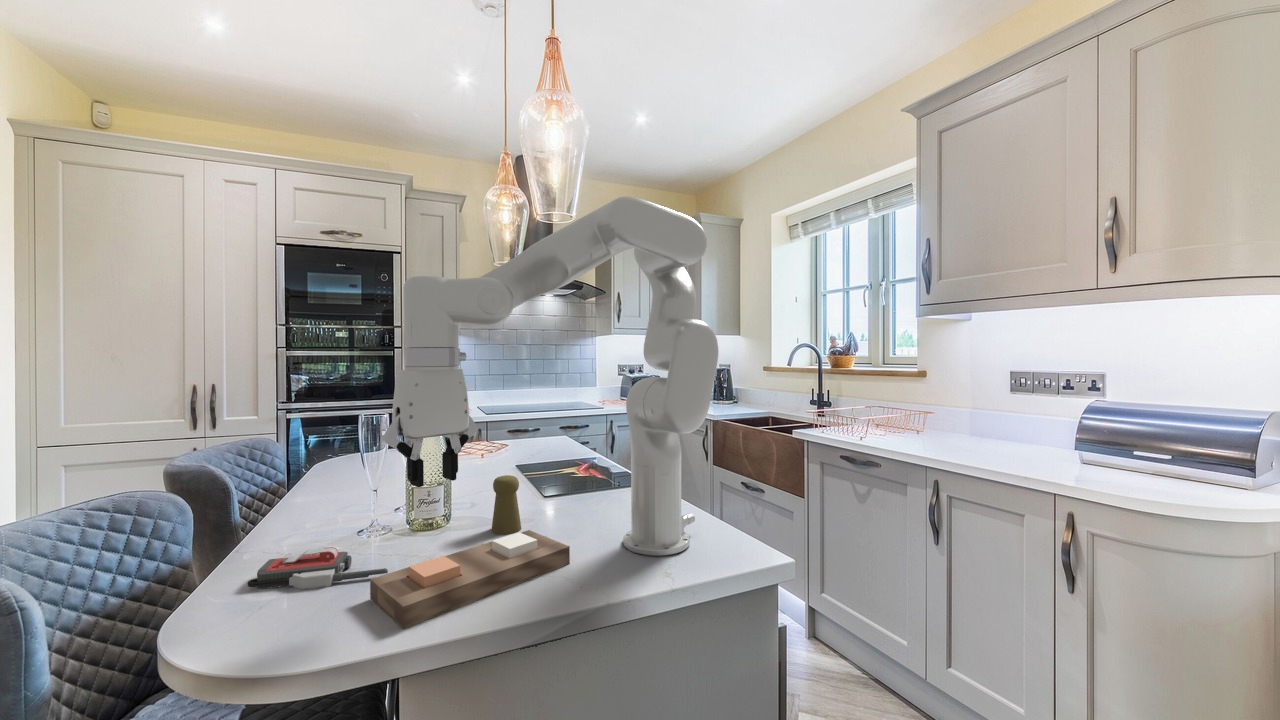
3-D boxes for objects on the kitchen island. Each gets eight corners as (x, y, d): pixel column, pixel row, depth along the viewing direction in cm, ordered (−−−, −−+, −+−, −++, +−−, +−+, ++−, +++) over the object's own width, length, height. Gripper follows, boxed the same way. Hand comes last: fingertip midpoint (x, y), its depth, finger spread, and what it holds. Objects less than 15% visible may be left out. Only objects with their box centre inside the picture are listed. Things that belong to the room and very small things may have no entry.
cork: (484, 531, 103) (484, 478, 103) (505, 522, 109) (505, 471, 109) (507, 536, 101) (506, 481, 100) (527, 527, 106) (527, 474, 106)
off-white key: (519, 545, 90) (519, 532, 90) (537, 553, 87) (537, 539, 87) (492, 554, 86) (492, 540, 86) (510, 563, 83) (509, 548, 83)
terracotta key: (443, 570, 80) (443, 555, 80) (460, 581, 76) (460, 565, 76) (408, 582, 76) (408, 566, 76) (424, 593, 72) (424, 577, 72)
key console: (529, 545, 96) (529, 530, 96) (569, 563, 88) (569, 546, 87) (370, 599, 75) (370, 579, 75) (403, 629, 67) (403, 606, 67)
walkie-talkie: (240, 600, 76) (386, 582, 82) (239, 571, 76) (386, 555, 82) (264, 575, 85) (396, 560, 90) (264, 549, 85) (395, 536, 90)
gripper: (471, 359, 84) (472, 468, 85) (361, 361, 72) (363, 488, 72) (495, 359, 79) (496, 476, 80) (382, 361, 67) (383, 499, 67)
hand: (433, 480), depth 76 cm, fingers open, 4 cm apart
